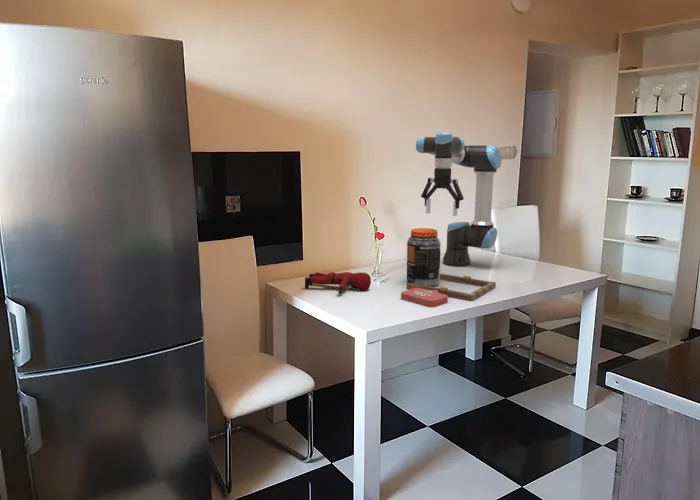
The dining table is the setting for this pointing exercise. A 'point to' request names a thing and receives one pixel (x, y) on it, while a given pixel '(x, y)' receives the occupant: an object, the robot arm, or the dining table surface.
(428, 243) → the supplement tub
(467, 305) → the dining table surface
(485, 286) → the beam slot
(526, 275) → the dining table surface
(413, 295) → the plaque
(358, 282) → the toy
